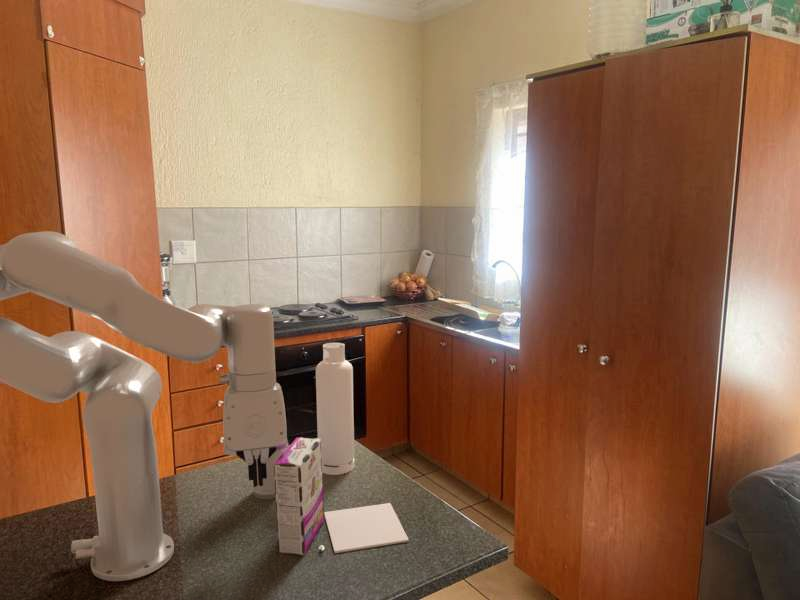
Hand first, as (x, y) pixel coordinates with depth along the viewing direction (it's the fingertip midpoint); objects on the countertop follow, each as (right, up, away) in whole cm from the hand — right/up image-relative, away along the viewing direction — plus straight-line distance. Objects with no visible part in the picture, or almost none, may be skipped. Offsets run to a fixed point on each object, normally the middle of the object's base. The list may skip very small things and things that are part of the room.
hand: (258, 482), depth 99 cm
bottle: (+10, -6, +31) cm, 33 cm away
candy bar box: (+7, -11, +4) cm, 13 cm away
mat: (+18, -10, +7) cm, 22 cm away
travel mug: (-2, -8, +20) cm, 21 cm away
